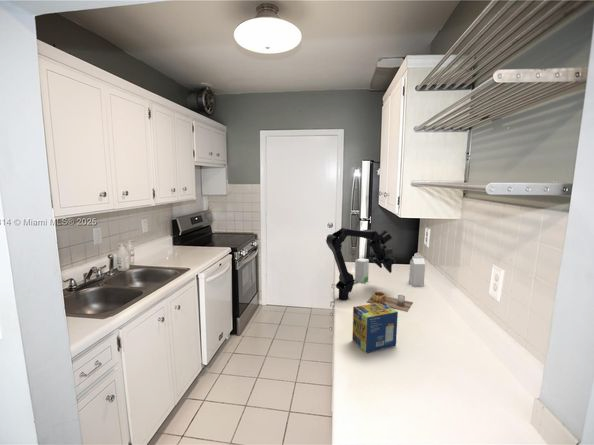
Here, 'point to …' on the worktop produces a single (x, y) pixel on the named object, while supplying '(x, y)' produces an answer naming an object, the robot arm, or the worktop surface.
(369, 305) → the protein box
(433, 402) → the worktop surface
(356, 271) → the skincare box
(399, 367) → the worktop surface
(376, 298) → the wooden ring
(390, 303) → the post board
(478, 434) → the worktop surface
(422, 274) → the milk carton
